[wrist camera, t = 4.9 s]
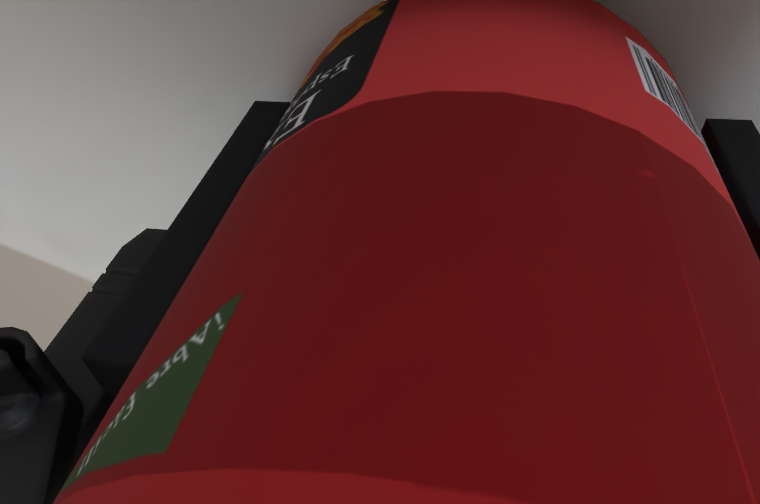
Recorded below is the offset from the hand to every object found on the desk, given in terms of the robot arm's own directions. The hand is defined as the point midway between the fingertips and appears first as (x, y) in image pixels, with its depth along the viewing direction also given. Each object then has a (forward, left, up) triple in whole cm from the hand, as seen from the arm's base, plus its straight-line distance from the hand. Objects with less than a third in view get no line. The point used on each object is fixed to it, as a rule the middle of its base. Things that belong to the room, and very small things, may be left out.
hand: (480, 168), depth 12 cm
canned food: (0, 0, -1) cm, 1 cm away
